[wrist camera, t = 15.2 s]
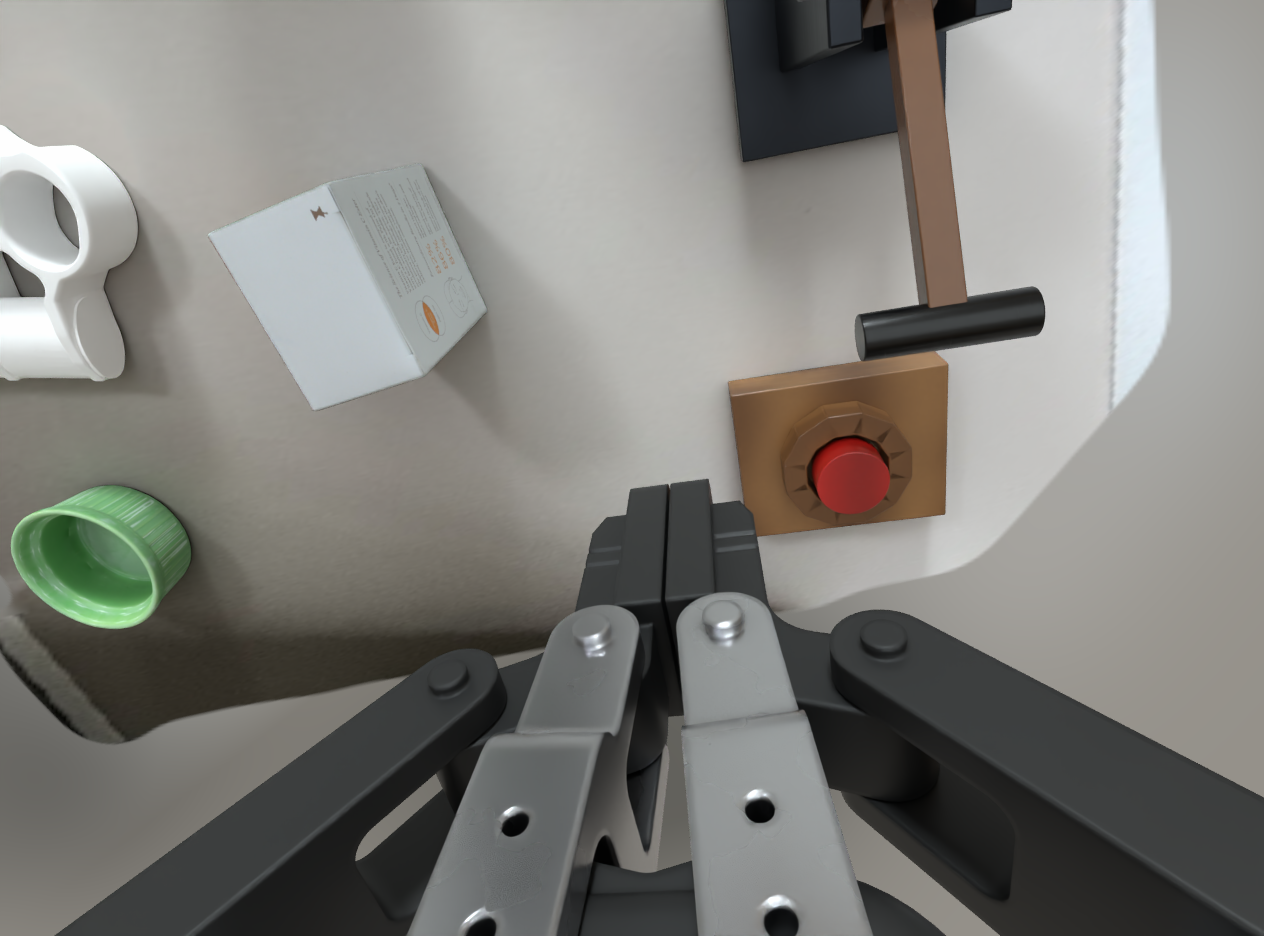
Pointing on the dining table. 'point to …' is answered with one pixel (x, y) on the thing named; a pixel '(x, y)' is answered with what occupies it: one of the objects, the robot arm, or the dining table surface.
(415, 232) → the small box
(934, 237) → the lever
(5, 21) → the dining table surface
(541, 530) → the dining table surface
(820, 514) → the button block
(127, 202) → the white brass knuckles
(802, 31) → the bracket
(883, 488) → the button
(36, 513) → the ramekin
